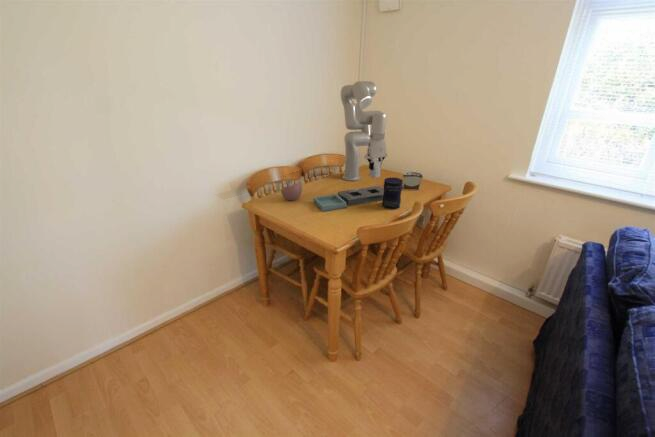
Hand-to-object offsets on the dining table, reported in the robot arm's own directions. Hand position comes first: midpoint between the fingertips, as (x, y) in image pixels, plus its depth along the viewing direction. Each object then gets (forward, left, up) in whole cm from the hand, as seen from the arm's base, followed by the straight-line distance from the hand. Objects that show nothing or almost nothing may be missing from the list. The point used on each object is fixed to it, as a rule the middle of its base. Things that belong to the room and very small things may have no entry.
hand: (375, 168), depth 173 cm
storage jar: (+16, +2, -17) cm, 24 cm away
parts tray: (+2, -29, -17) cm, 34 cm away
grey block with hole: (0, -6, -17) cm, 18 cm away
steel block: (0, 0, -5) cm, 5 cm away
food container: (-4, +30, -17) cm, 35 cm away
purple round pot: (-14, -46, -17) cm, 51 cm away
